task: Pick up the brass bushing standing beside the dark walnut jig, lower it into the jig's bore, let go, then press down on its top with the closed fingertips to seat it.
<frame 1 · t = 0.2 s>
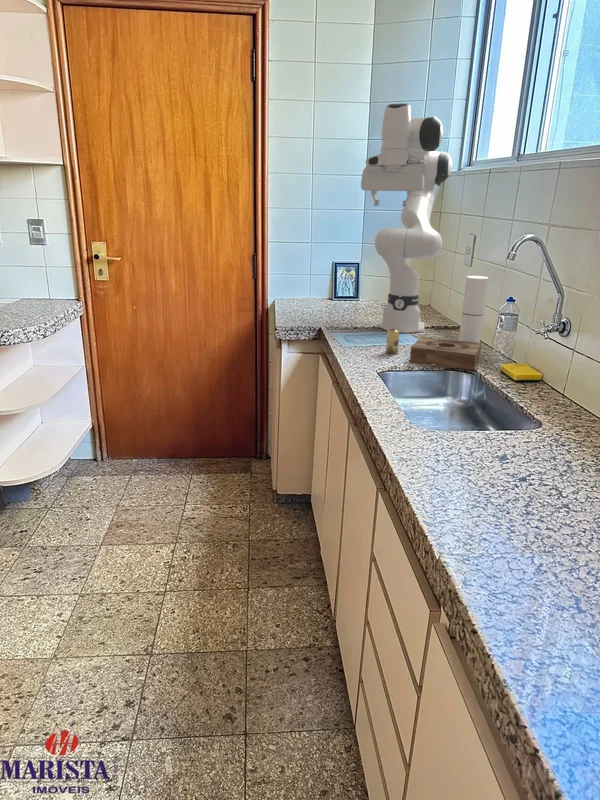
hand: (390, 206, 180), 47 cm above the worktop, tool pointing down, fingers open, 8 cm apart
jig: (445, 359, 182), on the worktop
cylindrical container: (468, 349, 196), on the worktop
bushing: (391, 353, 188), on the worktop
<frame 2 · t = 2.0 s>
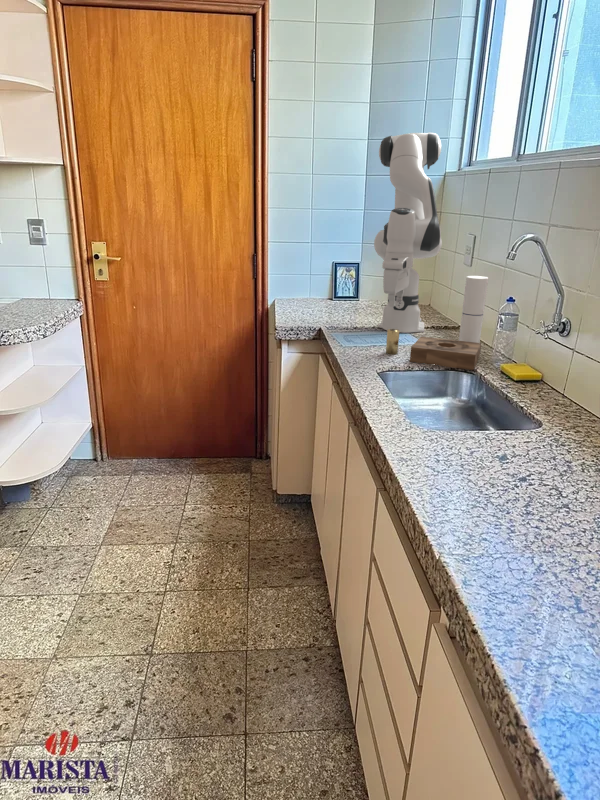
hand: (395, 304, 182), 17 cm above the worktop, tool pointing down, fingers open, 8 cm apart
nothing on the worktop moved.
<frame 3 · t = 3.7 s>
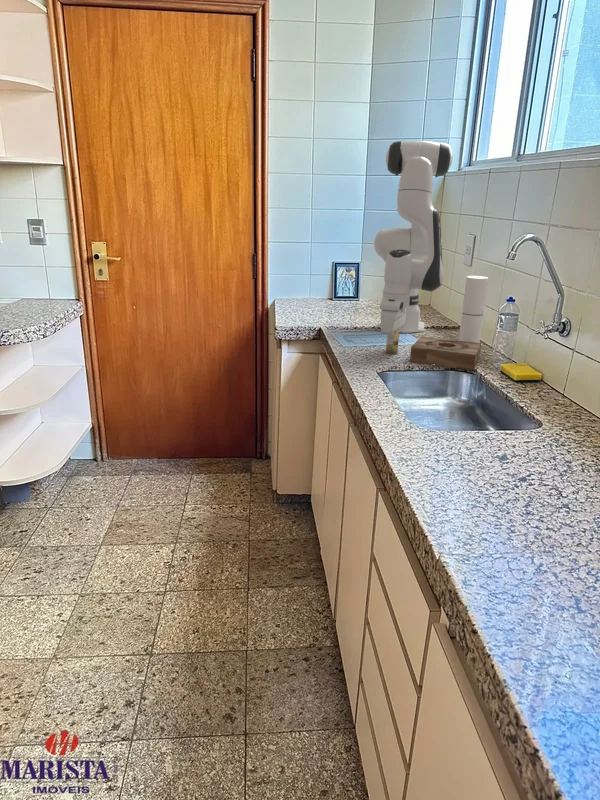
hand: (392, 341, 187), 4 cm above the worktop, tool pointing down, fingers closed on bushing, 4 cm apart
bushing: (391, 353, 188), on the worktop, touching gripper
everything else where it was.
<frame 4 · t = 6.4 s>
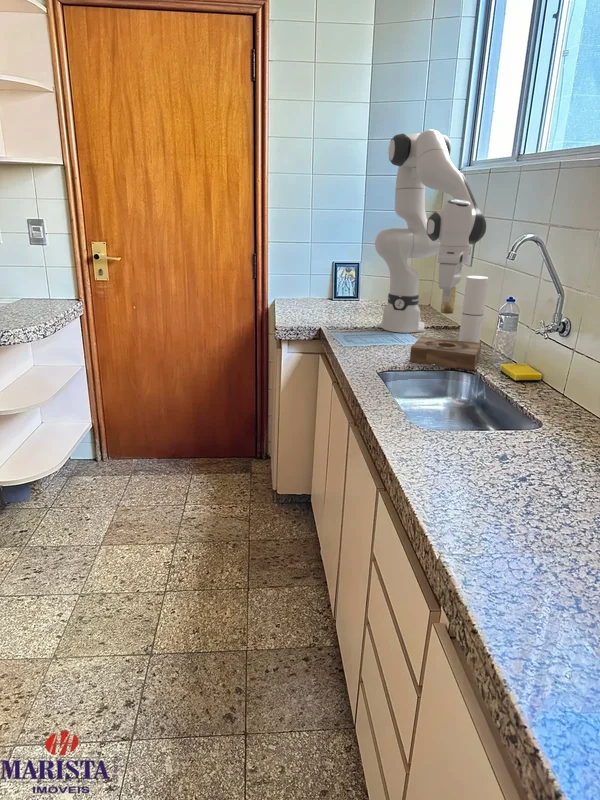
hand: (448, 300, 175), 20 cm above the worktop, tool pointing down, fingers closed on bushing, 4 cm apart
bushing: (446, 312, 176), point 16 cm above the worktop, touching gripper
everything else where it was.
when the fingers open (6 cm above the worktop, at t = 9.4 s): bushing drops 2 cm, resting in jig.
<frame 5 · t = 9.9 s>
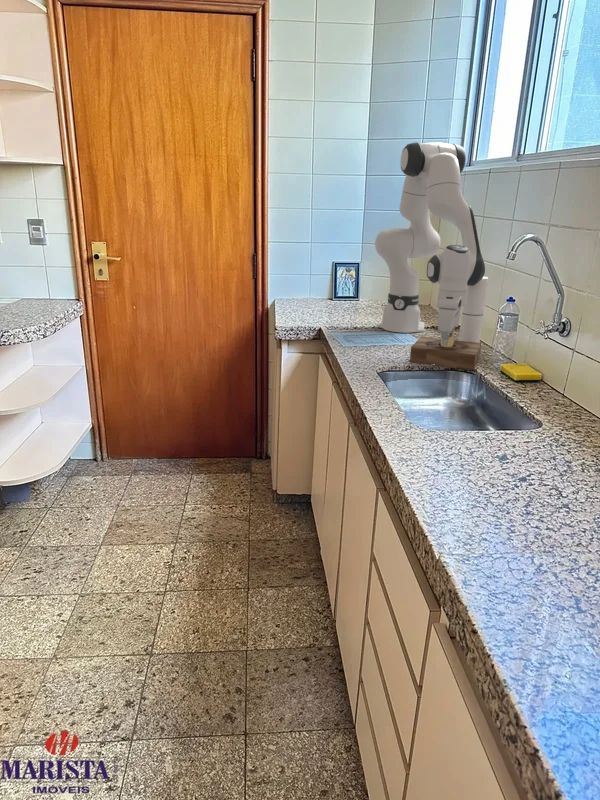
hand: (447, 341, 179), 6 cm above the worktop, tool pointing down, fingers open, 8 cm apart
cylindrical container: (468, 349, 196), on the worktop, touching arm
bushing: (445, 359, 182), resting in jig
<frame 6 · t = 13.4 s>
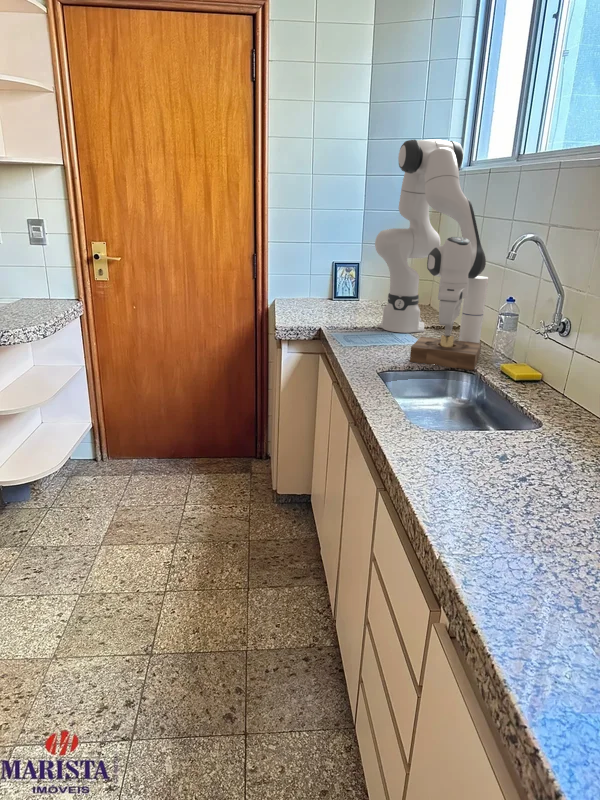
hand: (448, 334, 179), 9 cm above the worktop, tool pointing down, fingers closed
cylindrical container: (468, 349, 196), on the worktop
everything else where it was.
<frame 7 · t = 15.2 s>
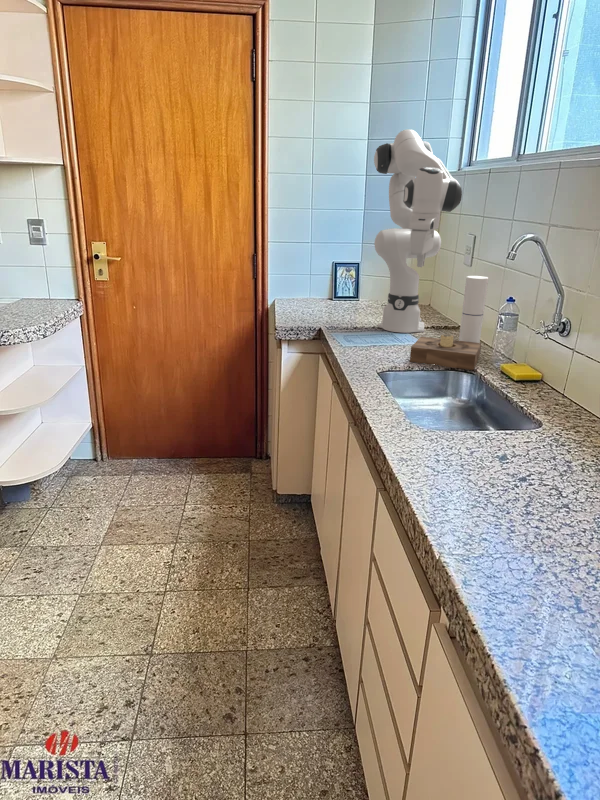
hand: (420, 266, 181), 29 cm above the worktop, tool pointing down, fingers closed
nothing on the worktop moved.
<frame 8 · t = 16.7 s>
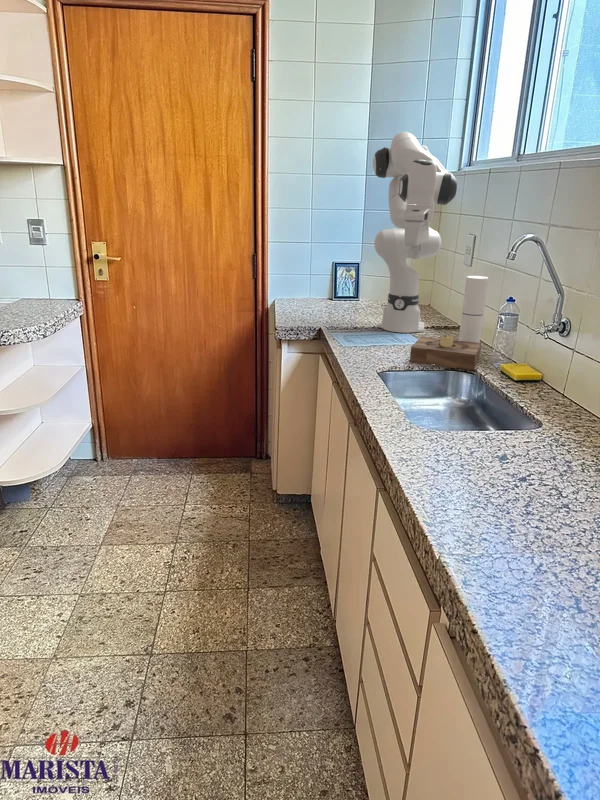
hand: (415, 258, 181), 31 cm above the worktop, tool pointing down, fingers closed
nothing on the worktop moved.
at the end: bushing 0.0 cm off-centre on the jig, point 0.0 cm above the jig's base; bushing tilted 2°; the gripper is holding nothing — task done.
